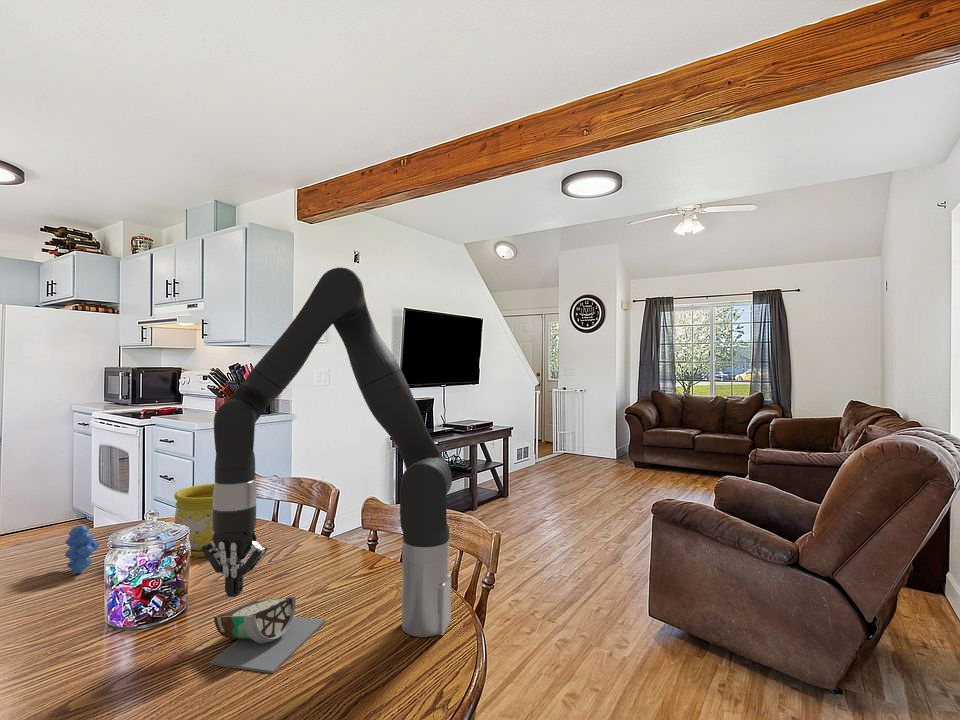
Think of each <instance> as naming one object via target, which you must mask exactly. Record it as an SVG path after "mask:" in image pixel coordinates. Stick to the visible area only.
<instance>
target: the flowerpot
mask: <svg viewBox="0 0 960 720" xmlns="http://www.w3.org/2000/svg"><path fill="white" fill-rule="evenodd" d="M214 485H215V483H207V484H206V483H205V484H200V485H193V486H188V487H186V488H182V489H179V490H177V492H175V493H174V499H175V500H176V503H175V514H174V523H175V524H181V525H185V526H187V527H189V529H190V534H189V541H190V545H191V556H190V557H192V558H193V557H194V558H205V554H204V553H203V551H202V547H203V546H204V545H206V544H208V543H210V542H211V541H212V538H213V535H214V533H215V532H214V531H213V491H214ZM203 556H204V557H203Z"/></svg>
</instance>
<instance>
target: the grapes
mask: <svg viewBox="0 0 960 720" xmlns="http://www.w3.org/2000/svg"><path fill="white" fill-rule="evenodd" d="M68 535H69V537H68V538H67V539H66V541H65V544H66V545H67V546H68V547H69V548H68V550H66V552H65V554H64V556H65V557H66V558H68V560H69V562H68V563H67V564H66V565H67V567H68V568H69V569H71V571H72V572H74V573H75V574H77V575H79V574H82V573H83V572H84V571H86V569H87V568H88V567H89V566H90V565H91V563H92V562H93V559H92V558H90V556H91V555H92V554H93V553H94V552H95V551H96V550H97V549H98V548H99V546H100V545H101V544H100V542H99V541H97V540H95V539H94V536H93V535H92V534H91V533H90V528H89V527H87V525H85V524H84V525H83V524H81V525H76V526H74V527H73V528H71V530H70V531H69V532H68Z"/></svg>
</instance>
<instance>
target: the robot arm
mask: <svg viewBox="0 0 960 720" xmlns="http://www.w3.org/2000/svg"><path fill="white" fill-rule="evenodd" d="M373 321H374V320H373V319H372V316H371V314H370V311H369V307H368V304H367V301H366V297H365V291H364V285H363V282H362V280H361V278H360V277H359V275H358V274H357V273H356V272H355V271H354V270H351V269H350V268H347V267H336V268H331V269H329V270H328V271H326V272H325V273H324V274H322V276H321V277H320V279H319V280H318V281H317V284H316V285H315V287H314V288H313V290H312V291H311V293H310V295H309V297H308V298H307V300H306V302H305V303H304V304H303V306H302V308H301V309H300V311H299V312H298V314H297V315H296V316H295V318H294V319H293V320H292V322H291V323H290V324H289V326H288V327H287V328H286V329H285V331H284V332H283V333H282V335H281V336H279V338H278V339H277V341H276V342H274V344H273V345H272V346H271V347H270V348H269V350H268V351H267V352H266V353H265V354H264V355H263V356H262V358H261V359H260V360H259V361H258V362H257V364H255V366H254V367H253V368H252V369H251V370H250V372H249V373H248V374H247V376H246V378H245V379H244V381H243V382H242V383H241V384H240V385H239V386H238V388H236V390H235V391H234V392H233V393H232V394H231V395H230V396H229V397H228V398H227V399H226V401H224V402H223V404H221V405H220V406H219V407H218V408H217V410H216V411H215V414H214V417H213V433H214V434H213V437H214V449H215V461H214V484H215V485H214V491H213V531H214V532H215V533H214V535H213V538H212V541H211V542H210V543H208V544H206V545H204V546H203V547H202V551H203V553H204V554H205V556H206V559H207V561H208V562H209V563H210V565H211V567H212V568H213V570H214V572H215V573H217V574H219V573H221V574H222V575H223V577H224V592H225V594H226V596H227V597H231V598H236V597H238V596H239V595H241V592H243V589H244V576H245V575H246V574H248V573H250V572H251V571H252V570H254V568H255V567H256V566H257V564H258V563H259V562H260V560H261V559H262V557H264V555H265V554H266V552H267V551H268V547H267V546H266V545H263V546H261V545H260V544H259V543H258V542H257V535H256V532H255V529H256V525H257V484H256V455H255V452H254V450H255V449H254V447H255V432H256V431H255V427H256V422H258V420H259V419H260V417H261V415H263V413H264V412H265V411H266V409H267V408H268V407H269V406H270V404H272V402H273V401H274V400H275V399H277V398H278V397H279V396H280V395H281V394H282V393H283V392H284V390H285V389H286V388H287V387H288V386H289V385H290V383H291V382H292V381H293V380H294V378H295V377H296V376H297V375H298V373H299V372H300V370H301V369H302V368H303V366H304V365H305V363H306V361H307V360H308V358H309V357H310V355H311V354H312V352H313V350H314V348H315V347H316V345H317V344H318V342H319V341H320V340H321V338H322V337H323V335H324V334H325V333H326V332H327V331H328V329H329V328H330V327H331V326H332V325H333V326H334V329H335V330H336V332H337V334H338V336H339V337H340V339H341V341H342V342H343V345H344V347H345V350H346V352H347V355H348V360H349V364H350V366H351V369H352V373H353V375H354V378H355V381H356V383H357V386H358V388H359V390H360V393H361V395H362V397H363V399H364V402H365V404H366V405H367V407H368V409H369V411H370V413H371V414H372V416H373V417H374V418H375V420H376V422H377V423H378V424H380V426H381V427H382V429H384V430H385V432H386V433H387V434H388V436H389V437H390V438H391V439H392V441H393V442H394V443H395V445H396V448H397V449H398V451H399V454H400V456H401V459H402V461H403V463H404V466H405V469H406V470H405V471H404V473H403V474H402V476H401V478H400V479H401V481H400V486H399V521H400V522H399V523H400V528H401V531H402V562H401V563H402V565H401V566H402V570H401V571H402V573H401V576H402V578H401V579H402V580H401V585H402V586H401V628H402V630H403V632H404V633H406V634H407V635H409V636H413V637H419V638H428V637H434V636H444V635H445V633H446V631H447V629H448V627H449V625H450V623H451V621H452V574H450V573H449V571H450V570H449V569H450V566H449V565H450V557H449V555H450V527H449V524H448V520H447V515H448V512H447V509H448V508H447V505H448V504H447V502H448V501H447V500H448V499H447V497H448V496H447V495H448V493H449V491H450V489H451V487H452V483H453V475H452V472H451V468H450V467H449V466H450V465H448V463H447V461H446V459H445V458H444V456H443V454H442V453H441V451H440V449H439V448H438V446H437V445H436V443H435V442H434V440H433V438H432V436H431V435H430V433H429V430H428V429H427V426H426V424H425V422H424V419H423V417H422V414H421V411H420V409H419V407H418V404H417V401H416V399H415V398H414V395H413V393H412V390H411V388H410V386H409V384H408V382H407V380H406V377H405V375H404V373H403V371H402V369H401V367H400V366H399V363H398V362H397V360H396V358H395V356H394V355H393V354H392V352H391V350H390V348H389V347H388V346H387V344H385V342H384V340H383V339H382V338H381V336H380V334H379V333H378V331H377V328H376V327H375V324H374V322H373ZM249 552H250V553H249ZM248 555H249V557H248Z"/></svg>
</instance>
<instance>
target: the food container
mask: <svg viewBox="0 0 960 720" xmlns="http://www.w3.org/2000/svg"><path fill="white" fill-rule="evenodd" d="M296 599H297V598H296V596H293V595H291V596H290V595H289V596H287V597H280V598H277V597H276V598H270V599H263V600H262V599H261V600H253V601H252V600H251V601H248V602H246V603H243V604H241V605H239V606H237V607H235V608H232V609H230V610H227V611H225V612H223V613H221V614H218V615H216V616H214V617H213V619H214V620H213V621H214V625H215V627H216V630H217V632H218V634H220V635H221V637H224V638H227V639H239V638H240V639H252V640H254V641H255V642H258V643H267V642H270V641H273V640H275V639H277V638H278V637H280V636H281V635H283V634H284V633H285V631H286V630H287V629H288V627H289V626H290V624H291V621H292V619H293V617H295V612H296V611H295V610H296V601H297V600H296Z"/></svg>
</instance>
